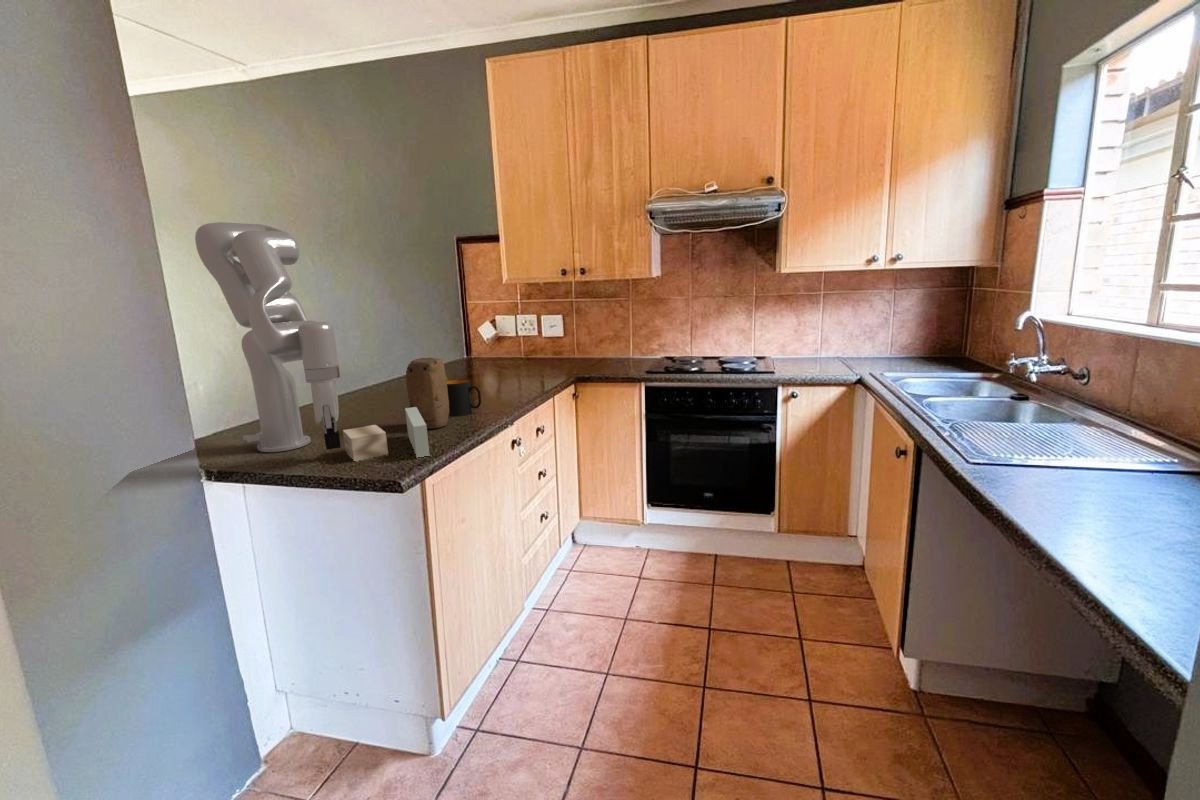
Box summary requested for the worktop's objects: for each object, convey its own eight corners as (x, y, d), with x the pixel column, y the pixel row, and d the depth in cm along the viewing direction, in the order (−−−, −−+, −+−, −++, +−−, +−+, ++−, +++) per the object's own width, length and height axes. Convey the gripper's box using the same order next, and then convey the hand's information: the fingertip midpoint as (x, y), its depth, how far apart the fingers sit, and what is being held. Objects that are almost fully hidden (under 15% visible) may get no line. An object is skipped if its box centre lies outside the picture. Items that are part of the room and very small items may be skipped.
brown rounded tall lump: (453, 424, 167) (447, 357, 163) (437, 430, 161) (430, 361, 156) (423, 421, 171) (416, 356, 167) (407, 428, 164) (399, 360, 160)
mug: (477, 416, 175) (474, 384, 173) (441, 416, 178) (438, 384, 175) (487, 410, 183) (484, 379, 181) (452, 410, 185) (449, 379, 183)
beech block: (354, 462, 136) (351, 438, 134) (345, 452, 144) (342, 430, 142) (388, 455, 140) (385, 432, 139) (378, 446, 148) (375, 424, 147)
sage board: (417, 458, 136) (413, 426, 135) (408, 436, 156) (405, 408, 154) (429, 456, 137) (426, 424, 136) (419, 434, 157) (416, 406, 155)
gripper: (307, 371, 140) (318, 442, 144) (302, 380, 126) (314, 458, 130) (340, 368, 143) (350, 438, 147) (339, 377, 129) (350, 453, 133)
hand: (333, 447), depth 138 cm, fingers closed
